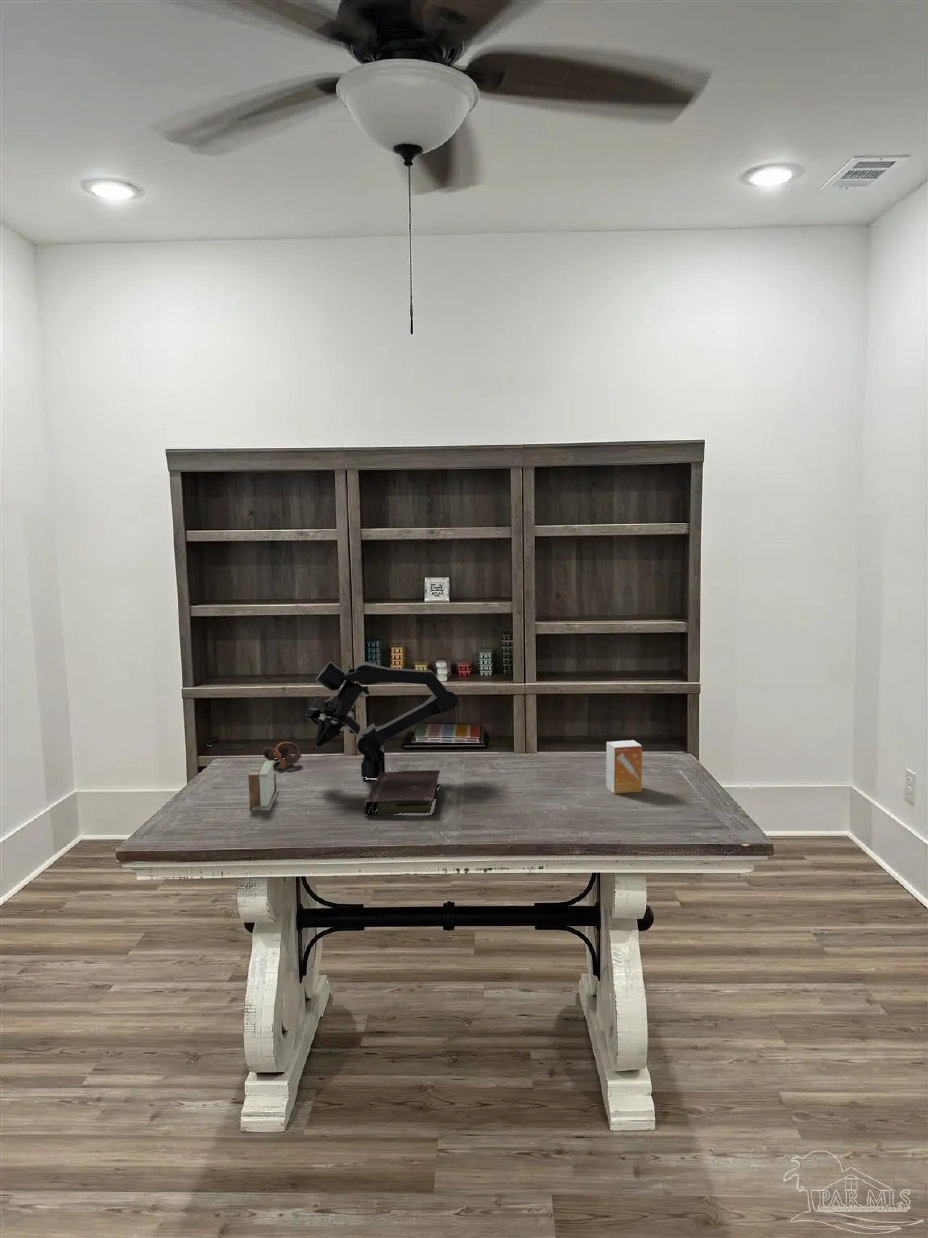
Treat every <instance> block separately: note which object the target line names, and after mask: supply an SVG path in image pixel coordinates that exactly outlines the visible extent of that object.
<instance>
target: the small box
mask: <svg viewBox="0 0 928 1238" xmlns="http://www.w3.org/2000/svg"><path fill="white" fill-rule="evenodd" d="M605 763H606V764H605V765H606V768H605V769H606V773H605V774H606V775H605V777H606V781H605V784H606V786H605V787H606V788H607V789H608V790H609V791H610V792H611V793H612V794H614V795H615V794H627V793H641V792H642V776H643V774H642V772H643V767H642V765H643V746H642V745H641V744H640V743H639V742H637V741H636V740H634V739H631V740H618V741H617V740H616V741H606V762H605Z"/></svg>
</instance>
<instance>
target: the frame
mask: <svg viewBox="0 0 928 1238" xmlns="http://www.w3.org/2000/svg"><path fill="white" fill-rule="evenodd" d="M259 774H260V771H249V773H248V775H247V776H248V794H249V795H248V796H249V799H248V800H249V809H251V812H258V811H259V812H260V811H270V810H271V808H272V807H273V804H274V802H275V800H276V798H277V797H278V794H279V792H280V789H279V788H277V774H276V773H275V772H274V793H273V795H272V797H271V800H270V802H269V805H268V806H261V798H260V777H259Z"/></svg>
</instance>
